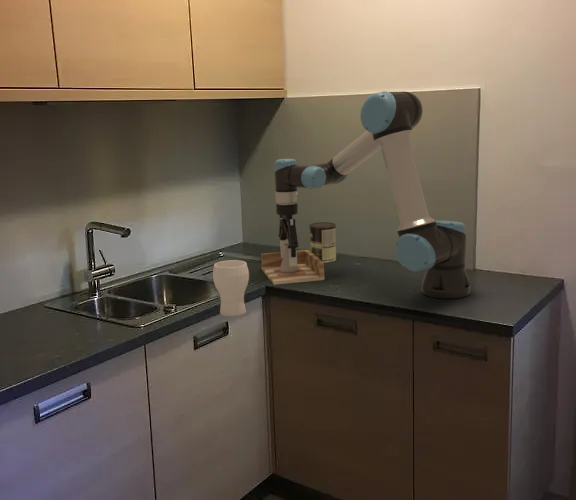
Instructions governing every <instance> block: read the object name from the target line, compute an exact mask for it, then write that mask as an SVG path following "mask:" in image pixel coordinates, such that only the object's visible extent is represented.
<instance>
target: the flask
mask: <svg viewBox="0 0 576 500" xmlns="http://www.w3.org/2000/svg"><path fill="white" fill-rule="evenodd" d="M284 246H285V252H284V257H283V260H282V264H281V267H280V270H279V271H280V272H281V273H294V272H297V271H299V268H298V266H289V249H288V246H289V242H288V243H286V244H284Z"/></svg>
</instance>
